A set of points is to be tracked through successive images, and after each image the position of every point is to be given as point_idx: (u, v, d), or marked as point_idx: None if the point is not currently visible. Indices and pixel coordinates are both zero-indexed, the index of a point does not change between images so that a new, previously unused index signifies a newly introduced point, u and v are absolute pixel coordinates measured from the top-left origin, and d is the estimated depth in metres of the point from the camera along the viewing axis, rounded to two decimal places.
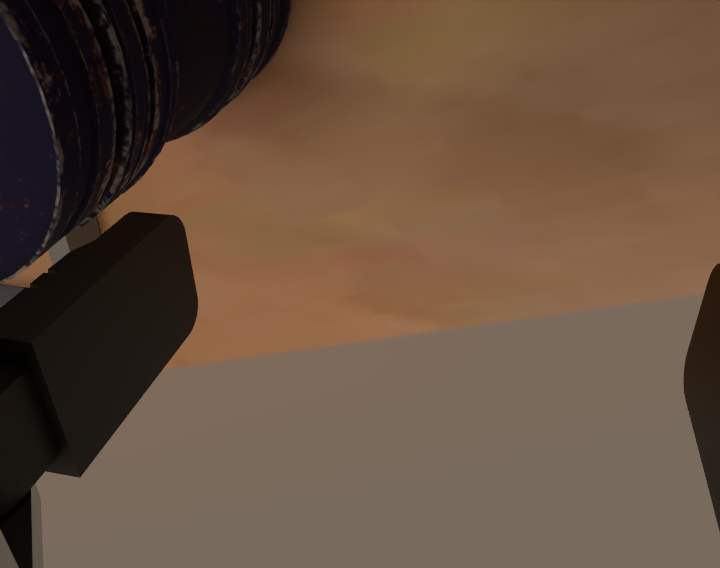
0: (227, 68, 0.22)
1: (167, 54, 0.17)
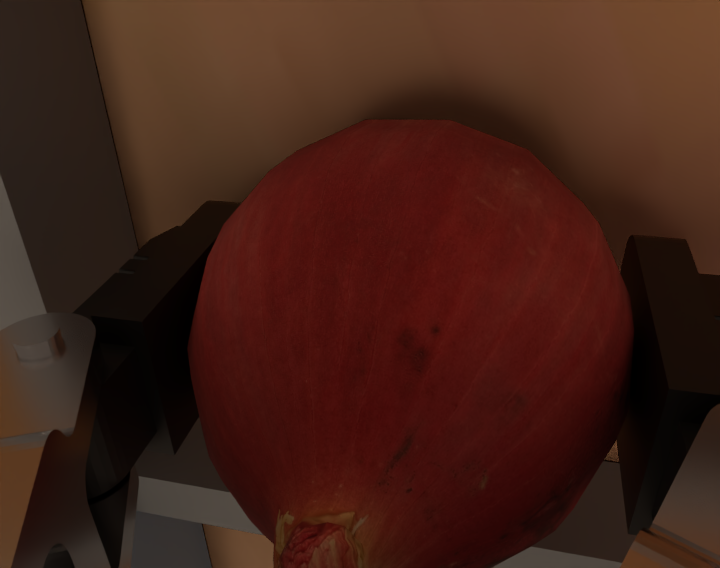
0: None
1: None
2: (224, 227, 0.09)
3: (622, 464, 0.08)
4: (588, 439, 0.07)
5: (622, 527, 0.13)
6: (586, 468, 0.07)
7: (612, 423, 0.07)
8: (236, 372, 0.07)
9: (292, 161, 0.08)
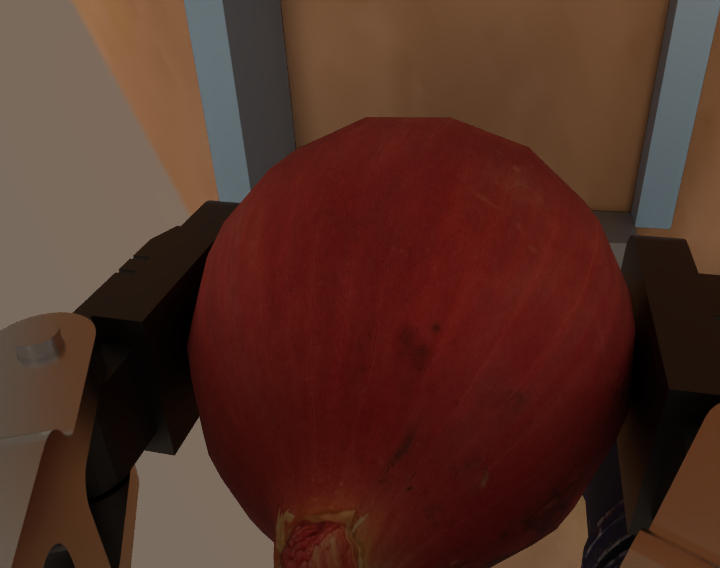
0: None
1: None
2: (224, 225, 0.09)
3: (622, 464, 0.08)
4: (589, 437, 0.07)
5: None
6: (587, 466, 0.07)
7: (614, 420, 0.07)
8: (236, 370, 0.07)
9: (292, 159, 0.08)
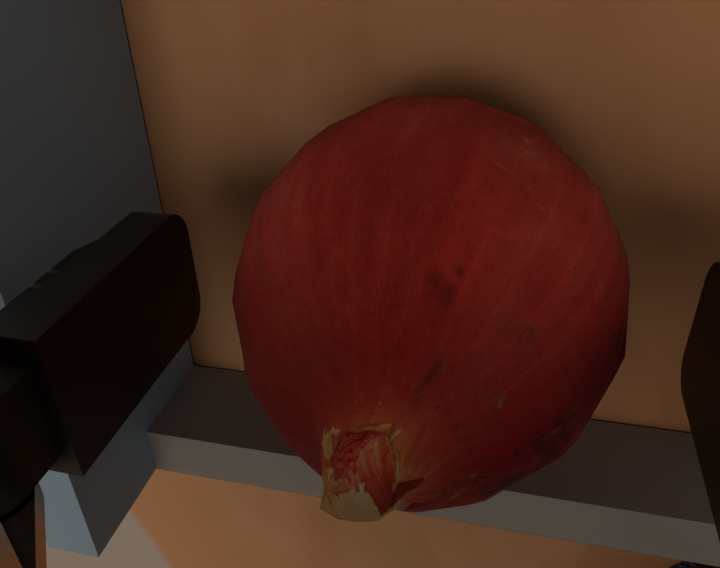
0: None
1: None
2: (264, 193, 0.10)
3: (718, 516, 0.08)
4: (589, 373, 0.08)
5: None
6: (587, 400, 0.08)
7: (611, 361, 0.09)
8: (285, 313, 0.08)
9: (327, 133, 0.09)
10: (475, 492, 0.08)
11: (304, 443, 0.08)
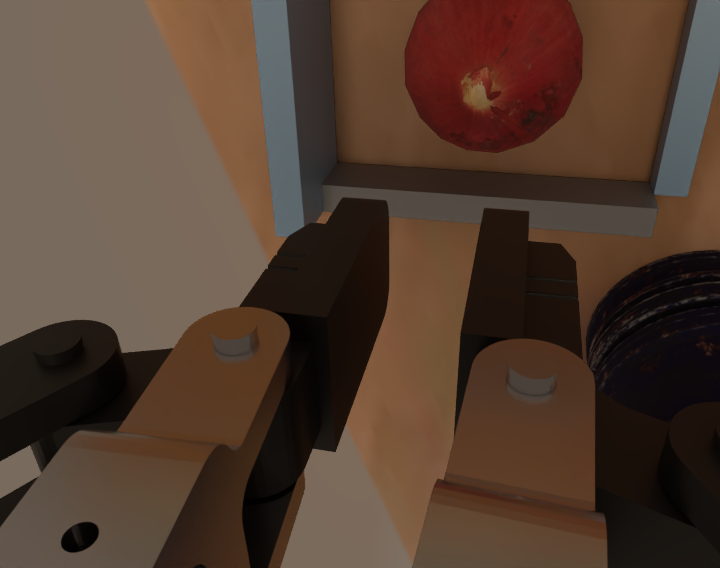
0: None
1: None
2: (421, 10, 0.22)
3: None
4: (564, 69, 0.20)
5: None
6: (564, 84, 0.20)
7: (574, 71, 0.20)
8: (443, 40, 0.20)
9: None
10: (518, 115, 0.20)
11: (448, 97, 0.20)
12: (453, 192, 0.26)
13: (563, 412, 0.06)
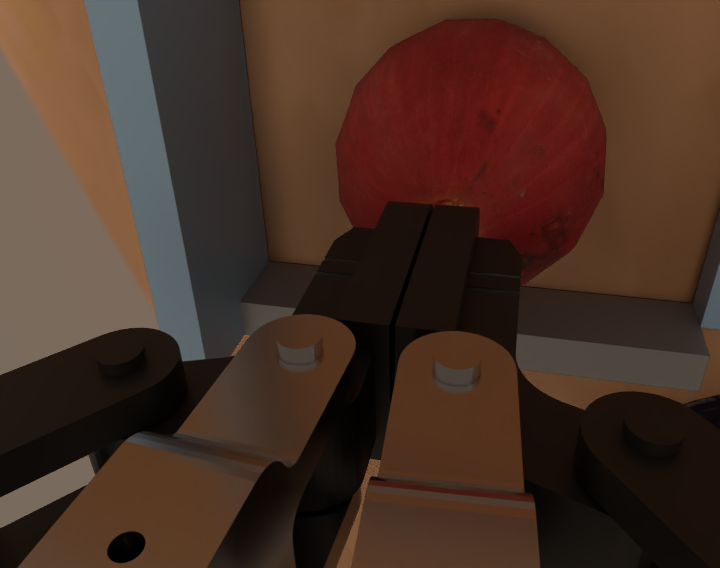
0: None
1: None
2: (359, 85, 0.14)
3: None
4: (578, 188, 0.13)
5: None
6: (577, 210, 0.13)
7: (593, 188, 0.13)
8: (385, 145, 0.12)
9: (405, 40, 0.14)
10: None
11: None
12: None
13: (481, 401, 0.06)
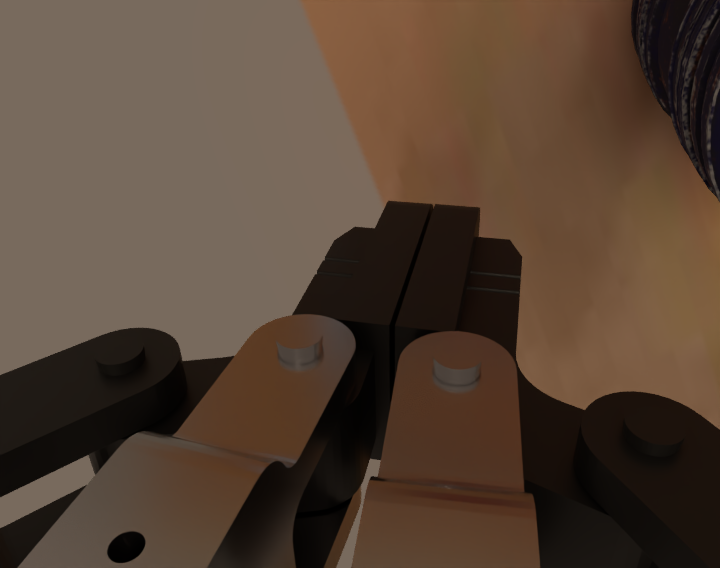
0: None
1: None
2: None
3: None
4: None
5: None
6: None
7: None
8: None
9: None
10: None
11: None
12: None
13: (482, 401, 0.06)
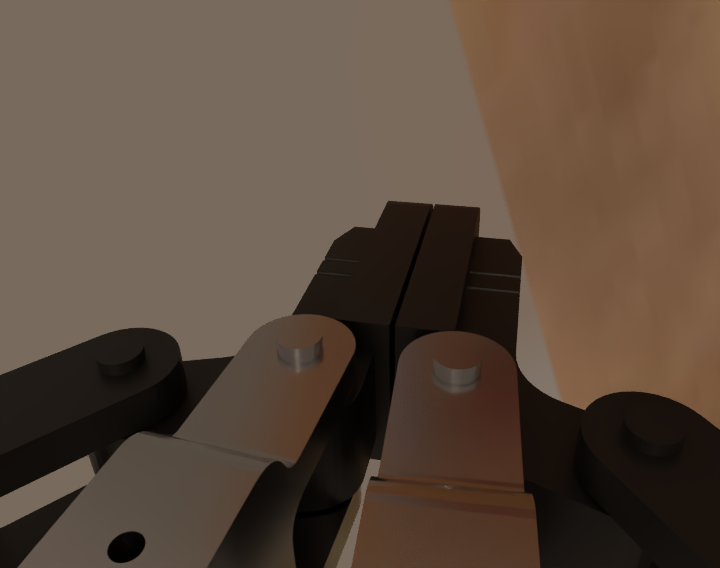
0: None
1: None
2: None
3: None
4: None
5: None
6: None
7: None
8: None
9: None
10: None
11: None
12: None
13: (482, 401, 0.06)
